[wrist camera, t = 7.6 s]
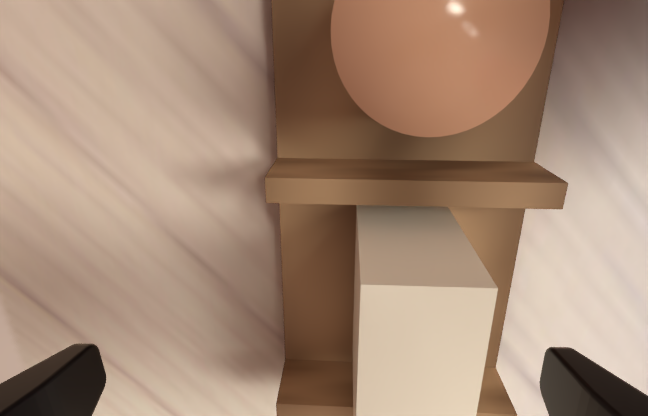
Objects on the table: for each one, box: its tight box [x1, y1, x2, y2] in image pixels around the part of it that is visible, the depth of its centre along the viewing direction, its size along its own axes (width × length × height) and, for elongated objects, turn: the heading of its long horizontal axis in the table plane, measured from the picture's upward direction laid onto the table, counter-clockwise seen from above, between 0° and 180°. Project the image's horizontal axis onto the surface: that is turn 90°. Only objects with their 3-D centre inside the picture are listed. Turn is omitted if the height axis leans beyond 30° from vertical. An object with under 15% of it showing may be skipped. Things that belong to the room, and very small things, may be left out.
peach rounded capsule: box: [331, 0, 550, 137], centre depth 14 cm, size 6×6×5 cm
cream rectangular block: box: [352, 205, 498, 416], centre depth 17 cm, size 4×8×7 cm, turn 0°
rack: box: [265, 0, 568, 416], centre depth 17 cm, size 11×23×4 cm, turn 0°
